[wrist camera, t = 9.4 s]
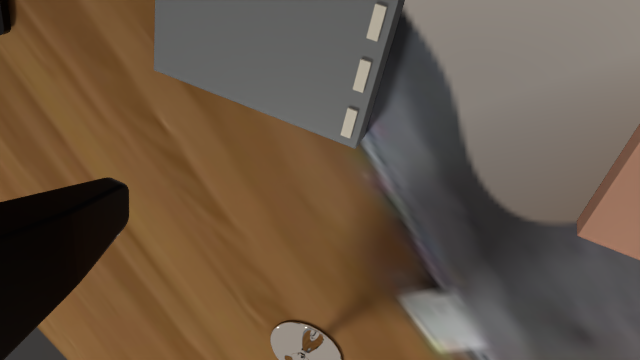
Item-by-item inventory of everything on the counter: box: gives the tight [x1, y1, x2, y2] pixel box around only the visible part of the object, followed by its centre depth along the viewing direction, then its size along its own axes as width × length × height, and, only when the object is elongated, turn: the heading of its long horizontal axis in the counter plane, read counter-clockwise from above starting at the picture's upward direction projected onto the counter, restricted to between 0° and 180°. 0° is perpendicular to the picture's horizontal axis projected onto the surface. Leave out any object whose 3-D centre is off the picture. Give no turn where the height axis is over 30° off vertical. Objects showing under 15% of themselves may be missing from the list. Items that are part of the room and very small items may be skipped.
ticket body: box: [154, 0, 405, 148], centre depth 20 cm, size 9×8×1 cm
